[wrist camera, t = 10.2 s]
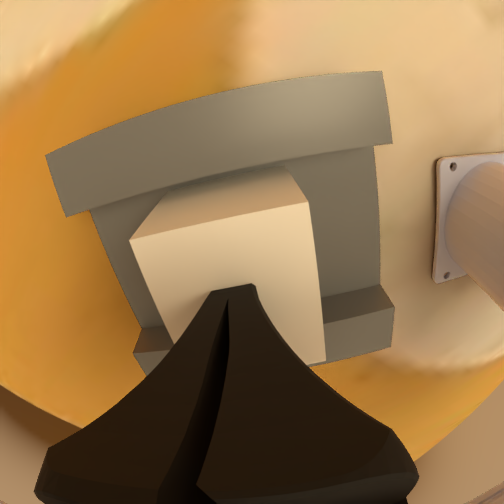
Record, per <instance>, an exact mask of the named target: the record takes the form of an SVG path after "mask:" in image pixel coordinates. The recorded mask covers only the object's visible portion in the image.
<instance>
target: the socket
mask: <svg viewBox="0 0 504 504" xmlns="http://www.w3.org/2000/svg"><path fill="white" fill-rule="evenodd" d="M384 144H393V143H392V133H391V125H390V117H389V110H388V103H387V97H386V91H385V85H384V79H383V74H382V71H368V72H351V73H338V74H327V75H318V76H309V77H301V78H294V79H287V80H281V81H275V82H269V83H263V84H258V85H252V86H247V87H242V88H238V89H233V90H229V91H224V92H220V93H216V94H212V95H208V96H204V97H200V98H196V99H192V100H189V101H185V102H182V103H178V104H175V105H171V106H168V107H165V108H162V109H158V110H155V111H152V112H149V113H146V114H143V115H140V116H137V117H135V118H132V119H129V120H126V121H123V122H121V123H118V124H115V125H113V126H110V127H108V128H105V129H103V130H100V131H98V132H95V133H93V134H90V135H88V136H86V137H83V138H81V139H79V140H77V141H74V142H72V143H70V144H68V145H66V146H63V147H61V148H59V149H57V150H55V151H53V152H51V153H49V154H47V155H45V156H46V160H47V163H48V166H49V170H50V173H51V176H52V179H53V182H54V185H55V188H56V191H57V194H58V197H59V200H60V202H61V205H62V208H63V210H64V213H65V216H66V217H69V216H72V215H74V214H77V213H80V212H83V211H86V210H90V213H91V215H92V218H93V221H94V223H95V226H96V228H97V231H98V234H99V236H100V239H101V241H102V244H103V246H104V248H105V251H106V253H107V256H108V258H109V260H110V263H111V265H112V267H113V269H114V272H115V274H116V276H117V278H118V281H119V283H120V285H121V287H122V289H123V291H124V293H125V296H126V298H127V300H128V302H129V304H130V306H131V308H132V310H133V312H134V314H135V316H136V318H137V320H138V322H139V324H140V326H141V328H142V330H141V333H140V335H139V338H138V341H137V343H136V346H135V349H134V352H133V355H134V356H135V358H136V360H137V361H138V363H139V365H140V366H141V368H142V369H143V371H144V373H145V374H146V376H148V375H149V373H150V372H151V371H152V370H153V369H154V368H155V367H156V366H157V365H158V364H159V363H160V362H161V360H162V359H163V358H164V357H165V356H166V355H167V353H168V352H169V351H170V349H171V348H172V347H173V346H174V343H173V341H172V339H171V337H170V334H169V332H168V330H167V328H166V326H165V324H164V322H163V320H162V317H161V315H160V313H159V311H158V309H157V307H156V304H155V302H154V300H153V298H152V295H151V293H150V291H149V288H148V286H147V284H146V281H145V279H144V277H143V274H142V272H141V269H140V267H139V264H138V262H137V260H136V257H135V254H134V252H133V249H132V247H131V244H130V242H129V240H130V238H131V237H132V236H133V234H134V233H135V232H136V230H137V229H138V228H139V227H140V225H141V224H142V223H143V221H144V220H145V219H146V218H147V216H148V215H149V214H150V213H151V211H152V210H153V209H154V208H155V206H156V205H157V204H158V203H159V201H160V200H161V199H162V198H163V197H164V195H165V194H166V193H167V192H168V191H171V190H175V189H179V188H183V187H187V186H191V185H195V184H199V183H203V182H207V181H211V180H216V179H220V178H225V177H229V176H234V175H238V174H243V173H248V172H253V171H257V170H262V169H267V168H273V167H278V166H283V165H285V167H286V168H287V170H288V171H289V173H290V174H291V176H292V177H293V179H294V180H295V182H296V183H297V185H298V186H299V188H300V189H301V191H302V193H303V194H304V196H305V197H306V199H307V200H308V203H309V209H310V216H311V223H312V230H313V238H314V246H315V253H316V262H317V270H318V279H319V288H320V297H321V307H322V317H323V328H324V340H325V353H326V361H323V362H319V363H314V364H309V365H307V366H308V367H312V366H316V365H321V364H326V363H330V362H335V361H339V360H343V359H347V358H351V357H355V356H359V355H363V354H367V353H371V352H374V351H378V350H382V349H385V348H389V347H391V340H392V331H393V321H394V309H395V307H394V305H393V303H392V302H391V300H390V299H389V297H388V296H387V294H386V293H385V291H384V289H383V288H382V286H381V285H380V226H379V205H378V190H377V177H376V166H375V156H374V147H373V146H376V145H384Z"/></svg>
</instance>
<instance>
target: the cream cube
mask: <svg viewBox="0 0 504 504" xmlns="http://www.w3.org/2000/svg"><path fill="white" fill-rule="evenodd" d="M129 242H130V244H131V247H132V249H133V252H134V254H135V257H136V260H137V262H138V264H139V267H140V269H141V272H142V274H143V277H144V279H145V281H146V284H147V286H148V288H149V291H150V293H151V295H152V298H153V300H154V302H155V304H156V307H157V309H158V311H159V313H160V315H161V317H162V320H163V322H164V324H165V326H166V328H167V330H168V332H169V334H170V337H171V339H172V341H173V343H174V344H175V343H176V342H177V340H178V339H179V338H180V336H181V335H182V334H183V332H184V331H185V330H186V328H187V327H188V325H189V324H190V322H191V321H192V319H193V318H194V316H195V315H196V313H197V312H198V310H199V309H200V307H201V306H202V304H203V303H204V301H205V299H206V298H207V296H208V295H209V294H210V292H211V291H213V290H219V289H224V288H229V287H235V286H240V285H245V284H250V283H252V284H254V285H255V286H256V289H257V293H258V297H259V300H260V302H261V304H262V306H263V308H264V310H265V312H266V313H267V315H268V317H269V318H270V320H271V322H272V323H273V325H274V326H275V328H276V329H277V331H278V332H279V333H280V335H281V336H282V337H283V339H284V340H285V341H286V343H287V344H288V345H289V346H290V348H291V349H292V350H293V351H294V352H295V353H296V354H297V356H298V357H299V358H300V359H301V360H302V361H303V362H304V363H305V364H306V365H309V364H314V363H319V362H323V361H326V353H325V340H324V328H323V317H322V307H321V297H320V288H319V279H318V270H317V262H316V253H315V246H314V238H313V230H312V223H311V216H310V209H309V203H308V200H307V199H306V197H305V196H304V194H303V193H302V191H301V189H300V188H299V186H298V185H297V183H296V182H295V180H294V179H293V177H292V176H291V174H290V173H289V171H288V170H287V168H286V167H285V165H283V166H278V167H273V168H267V169H262V170H257V171H253V172H248V173H243V174H238V175H234V176H229V177H225V178H220V179H216V180H211V181H207V182H203V183H199V184H195V185H191V186H187V187H183V188H179V189H175V190H171V191H168V192H167V193H166V194H165V195H164V197H163V198H162V199H161V200H160V201H159V203H158V204H157V205H156V206H155V208H154V209H153V210H152V211H151V213H150V214H149V215H148V216H147V218H146V219H145V220H144V221H143V223H142V224H141V225H140V227H139V228H138V229H137V230H136V232H135V233H134V234H133V236H132V237H131V238H130V240H129Z"/></svg>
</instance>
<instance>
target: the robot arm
mask: <svg viewBox="0 0 504 504" xmlns="http://www.w3.org/2000/svg"><path fill="white" fill-rule="evenodd" d="M451 163H453V167H452V169H450V164H451ZM436 170H437V215H436V237H435V251H434V263H433V273H432V279H433V280H434V282H435V283H437V284H439V283H443V282H446V281H449V280H453V279H456V278H459V277H462V276H465V275H469V276H470V277H471V278H472V279H473V280H474V281H475V282H476V283H477V284H478V285H479V286H480V287H481V288H482V289H483V290H484V291H485V292H486V293H487V294H488V295H489V296H490V297H491V298H492V299H493V300H494V302H495V303H496V304H497V305H498V306H499V307H500V308H501V309H502V310H503V311H504V152H499V153H485V154H473V155H461V156H451V157H442V158H440V159H439V160H438V162H437V166H436ZM446 272H447V273H446ZM445 273H446V275H444V274H445ZM418 479H419V475H418V471H417V468H416V466H415V464H414V462H413V460H412V458H411V456H410V454H409V453H408V451H407V450H406V448H405V446H404V445H403V443H402V442H401V441H400V439H399V438H398V437H397V435H396V434H395V433H394V431H393V430H392V429H391V428H389V427H388V426H386V425H384V424H382V423H381V422H379V421H377V420H376V419H374V418H372V417H371V416H369V415H368V414H366V413H365V412H363V411H362V410H360V409H359V408H357V407H356V406H354V405H353V404H352V403H350V402H349V401H348V400H346V399H345V398H344V397H342V396H341V395H339V394H338V393H337V392H336V391H335V390H334V389H332V388H331V387H330V386H329V385H328V384H327V383H325V382H324V381H323V380H322V379H321V378H320V377H318V376H317V375H316V374H315V373H314V372H313V371H312V370H311V369H310V368H309V367H308V366H307V365H306V364H305V363H304V362H303V361H302V360H301V359H300V358H299V357H298V356H297V354H296V353H295V352H294V351H293V350H292V349H291V348H290V346H289V345H288V344H287V343H286V341H285V340H284V339H283V337H282V336H281V335H280V333H279V332H278V331H277V329H276V328H275V326H274V325H273V323H272V322H271V320H270V318H269V317H268V315H267V313H266V312H265V310H264V308H263V306H262V304H261V302H260V300H259V297H258V293H257V289H256V286H255V285H254V284H252V283H250V284H245V285H240V286H235V287H229V288H224V289H219V290H213V291H211V292H210V294H209V295H208V296H207V298H206V299H205V301H204V303H203V304H202V306H201V307H200V309H199V310H198V312H197V313H196V315H195V316H194V318H193V319H192V321H191V322H190V324H189V325H188V327H187V328H186V330H185V331H184V332H183V334H182V335H181V336H180V338H179V339H178V340H177V342H176V343H175V344H174V346H173V347H172V348H171V349H170V351H169V352H168V353H167V355H166V356H165V357H164V358H163V359H162V360H161V362H160V363H159V364H158V365H157V366H156V367H155V368H154V369H153V370H152V371H151V372H150V373H149V375H148V376H147V377H146V378H145V379H144V380H143V381H142V382H141V383H140V384H138V385H137V386H136V387H135V388H134V389H133V390H132V391H131V392H129V393H128V394H127V395H126V396H125V397H124V398H123V399H122V400H120V401H119V402H118V403H117V404H116V405H115V406H113V407H112V408H111V409H109V410H108V411H107V412H106V413H104V414H103V415H102V416H100V417H99V418H97V419H96V420H94V421H93V422H92V423H90V424H89V425H87V426H86V427H84V428H83V429H81V430H80V431H78V432H76V433H74V434H73V435H71V436H69V437H68V438H66V439H64V440H62V441H60V442H59V443H57V444H55V445H54V446H51V447H49V448H48V451H47V453H46V456H45V459H44V461H43V464H42V468H41V471H40V473H39V476H38V479H37V482H36V486H35V489H34V492H35V494H36V496H37V498H38V499H39V500H41V501H42V502H43V503H45V504H408V503H407V499H406V497H407V495H408V494H409V493H410V491H411V490H412V489H413V488H414V486H415V485H416V483H417V481H418ZM0 504H6V503H5V502H3V501H1V500H0ZM465 504H504V481H503V482H502V483H500V484H498V485H497V486H495V487H494V488H492V489H490V490H489V491H487V492H485V493H484V494H482V495H480V496H478V497H477V498H475V499H473V500H471V501H469V502H467V503H465Z"/></svg>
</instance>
